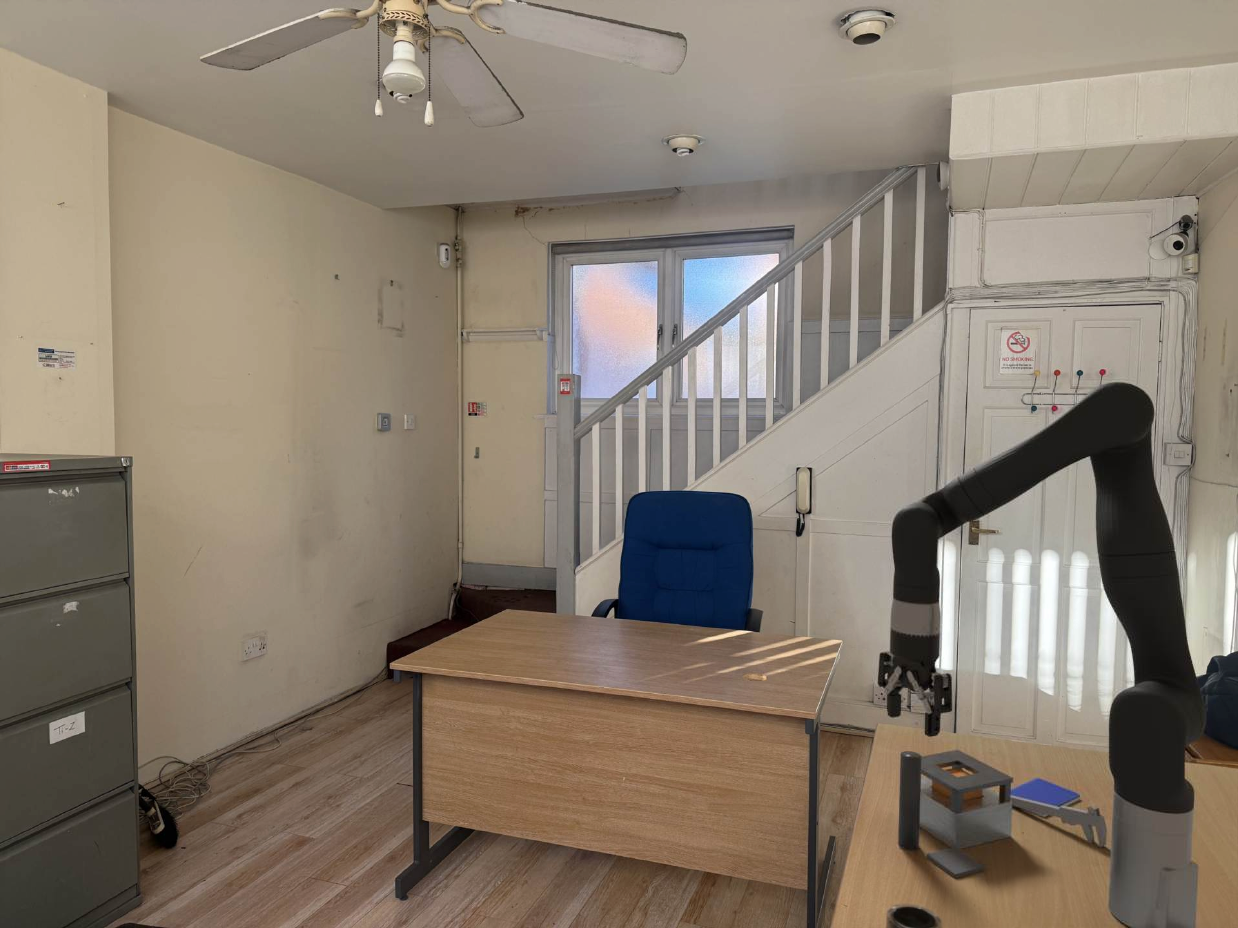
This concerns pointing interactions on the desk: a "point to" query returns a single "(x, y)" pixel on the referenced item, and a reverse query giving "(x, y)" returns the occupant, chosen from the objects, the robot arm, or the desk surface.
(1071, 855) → the desk surface
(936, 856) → the pad
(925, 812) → the grey boxy frame
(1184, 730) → the robot arm
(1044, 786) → the hard drive
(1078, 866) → the desk surface
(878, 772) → the desk surface
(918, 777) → the handle
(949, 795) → the button
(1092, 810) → the caliper
